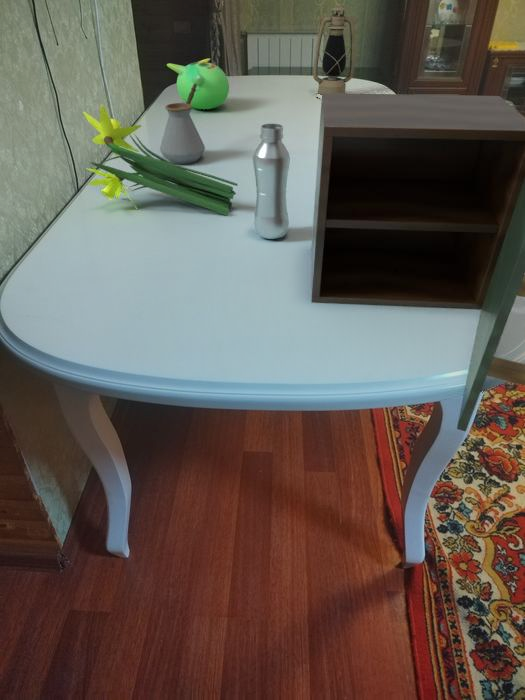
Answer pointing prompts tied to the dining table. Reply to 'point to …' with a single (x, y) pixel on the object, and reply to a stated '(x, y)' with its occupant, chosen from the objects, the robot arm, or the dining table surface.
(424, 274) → the cupboard
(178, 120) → the coffee pot
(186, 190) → the daffodil flowers
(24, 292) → the dining table surface
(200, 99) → the toy bird
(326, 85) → the lantern
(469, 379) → the cupboard door
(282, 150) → the silver bottle
